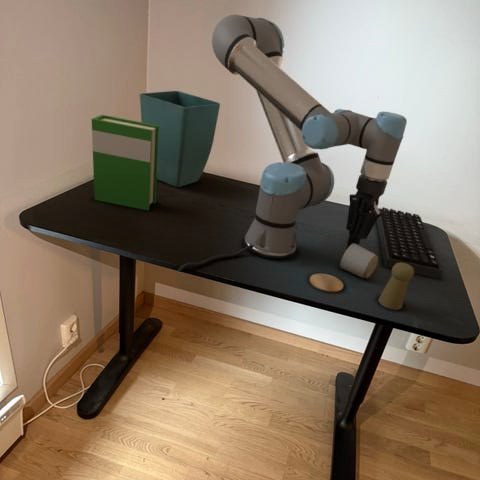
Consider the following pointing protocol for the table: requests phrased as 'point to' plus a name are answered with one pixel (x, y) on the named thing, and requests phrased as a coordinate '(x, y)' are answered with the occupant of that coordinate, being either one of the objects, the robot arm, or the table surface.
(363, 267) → the ceramic mug
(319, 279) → the cork coaster
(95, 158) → the hardback book
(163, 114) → the flower pot
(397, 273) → the pepper shaker
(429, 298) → the table surface
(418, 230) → the computer keyboard
